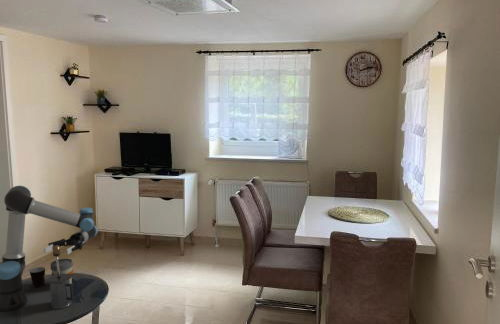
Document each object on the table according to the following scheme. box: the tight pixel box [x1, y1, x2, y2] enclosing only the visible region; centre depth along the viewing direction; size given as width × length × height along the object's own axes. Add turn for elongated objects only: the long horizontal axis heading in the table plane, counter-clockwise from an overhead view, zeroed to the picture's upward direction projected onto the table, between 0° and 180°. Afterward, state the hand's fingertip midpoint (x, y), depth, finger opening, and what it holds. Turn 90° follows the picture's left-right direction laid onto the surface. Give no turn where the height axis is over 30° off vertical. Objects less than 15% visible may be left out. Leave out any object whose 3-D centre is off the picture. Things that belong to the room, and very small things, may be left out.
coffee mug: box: [29, 266, 46, 288], centre depth 258 cm, size 12×9×10 cm
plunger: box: [52, 245, 61, 278], centre depth 228 cm, size 7×7×22 cm
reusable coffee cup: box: [50, 258, 74, 284], centre depth 255 cm, size 12×13×15 cm
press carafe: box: [44, 273, 75, 310], centre depth 230 cm, size 13×10×16 cm
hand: (56, 251), depth 226 cm, fingers open, 13 cm apart
